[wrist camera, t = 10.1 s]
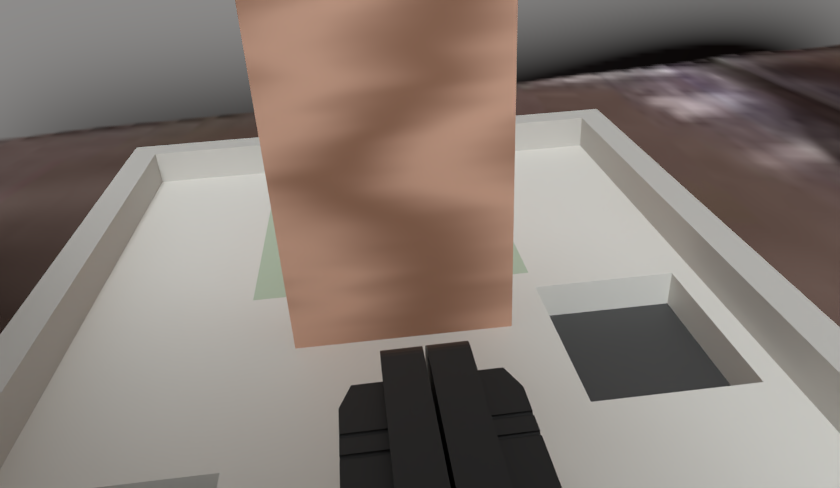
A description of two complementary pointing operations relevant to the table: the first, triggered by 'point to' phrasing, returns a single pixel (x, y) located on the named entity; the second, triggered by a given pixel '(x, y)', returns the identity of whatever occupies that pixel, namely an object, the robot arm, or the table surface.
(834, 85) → the table surface
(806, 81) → the table surface
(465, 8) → the terracotta block
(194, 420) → the box
